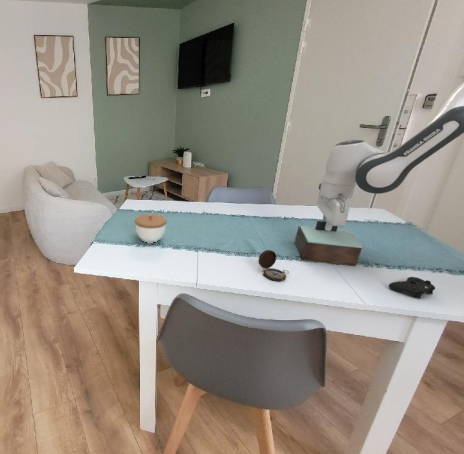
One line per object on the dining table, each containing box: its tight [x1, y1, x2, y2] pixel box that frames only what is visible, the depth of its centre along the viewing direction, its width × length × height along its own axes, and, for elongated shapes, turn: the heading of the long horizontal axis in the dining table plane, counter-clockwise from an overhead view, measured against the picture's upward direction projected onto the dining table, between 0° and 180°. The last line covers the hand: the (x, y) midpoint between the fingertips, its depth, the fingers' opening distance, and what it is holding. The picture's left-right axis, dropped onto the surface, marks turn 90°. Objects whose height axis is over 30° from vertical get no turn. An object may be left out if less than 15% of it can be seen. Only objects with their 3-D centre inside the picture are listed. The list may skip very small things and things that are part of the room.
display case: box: [294, 225, 363, 267], centre depth 102 cm, size 15×14×7 cm
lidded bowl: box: [134, 213, 168, 244], centre depth 118 cm, size 13×13×11 cm
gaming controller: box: [388, 276, 436, 299], centre depth 81 cm, size 10×5×6 cm
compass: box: [257, 249, 290, 282], centre depth 91 cm, size 8×8×7 cm
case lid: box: [299, 220, 364, 249], centre depth 98 cm, size 15×14×4 cm
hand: (326, 228), depth 102 cm, fingers closed on case lid
